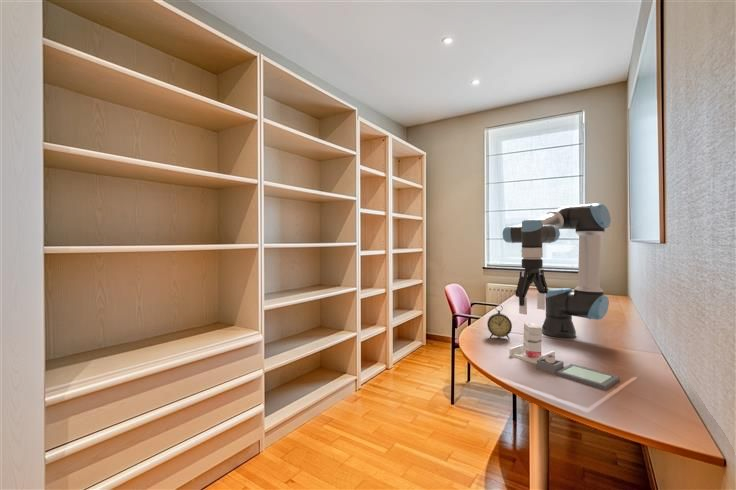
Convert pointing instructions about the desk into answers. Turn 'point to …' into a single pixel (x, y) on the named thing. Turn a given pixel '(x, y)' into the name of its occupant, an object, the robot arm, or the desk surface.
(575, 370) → the pale green panel
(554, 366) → the cup
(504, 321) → the alarm clock
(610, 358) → the desk surface
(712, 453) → the desk surface
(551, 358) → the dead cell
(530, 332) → the ink box
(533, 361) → the trough
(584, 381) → the base
